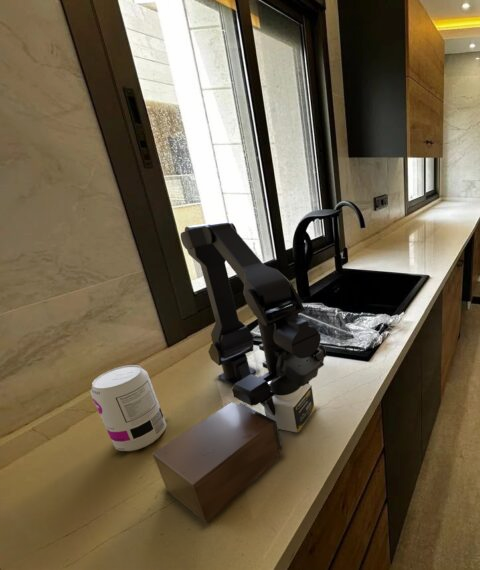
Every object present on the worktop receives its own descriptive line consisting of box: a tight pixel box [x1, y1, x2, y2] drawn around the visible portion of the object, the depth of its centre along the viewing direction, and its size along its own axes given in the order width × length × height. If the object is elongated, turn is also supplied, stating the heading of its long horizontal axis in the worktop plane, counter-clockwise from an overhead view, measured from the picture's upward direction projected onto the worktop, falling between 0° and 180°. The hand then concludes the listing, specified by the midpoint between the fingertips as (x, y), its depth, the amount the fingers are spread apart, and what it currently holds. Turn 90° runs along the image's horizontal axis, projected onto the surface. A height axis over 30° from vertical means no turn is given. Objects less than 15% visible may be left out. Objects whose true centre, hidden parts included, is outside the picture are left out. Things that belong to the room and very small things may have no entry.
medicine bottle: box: [263, 375, 316, 433], centre depth 69 cm, size 7×7×12 cm
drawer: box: [237, 402, 282, 452], centre depth 59 cm, size 14×10×7 cm
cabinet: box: [151, 401, 280, 524], centre depth 57 cm, size 14×12×9 cm
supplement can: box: [90, 364, 167, 452], centre depth 64 cm, size 8×8×15 cm
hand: (289, 402), depth 70 cm, fingers closed on medicine bottle, 8 cm apart
